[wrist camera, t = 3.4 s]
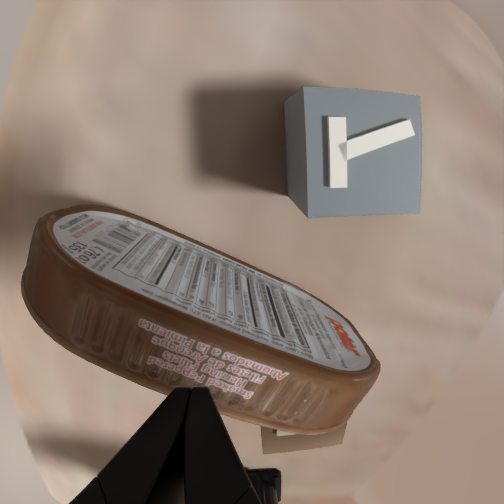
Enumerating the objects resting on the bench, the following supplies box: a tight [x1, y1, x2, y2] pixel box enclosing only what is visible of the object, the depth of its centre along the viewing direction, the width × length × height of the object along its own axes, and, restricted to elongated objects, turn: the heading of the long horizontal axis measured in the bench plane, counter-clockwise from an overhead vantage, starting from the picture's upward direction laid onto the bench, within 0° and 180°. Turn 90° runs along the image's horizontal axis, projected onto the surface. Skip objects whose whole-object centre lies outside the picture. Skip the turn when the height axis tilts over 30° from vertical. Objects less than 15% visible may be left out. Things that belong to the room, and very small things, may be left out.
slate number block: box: [284, 86, 422, 218], centre depth 12 cm, size 4×4×5 cm
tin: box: [21, 205, 380, 435], centre depth 12 cm, size 15×3×8 cm, turn 64°
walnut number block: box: [261, 422, 347, 454], centre depth 17 cm, size 4×4×5 cm
